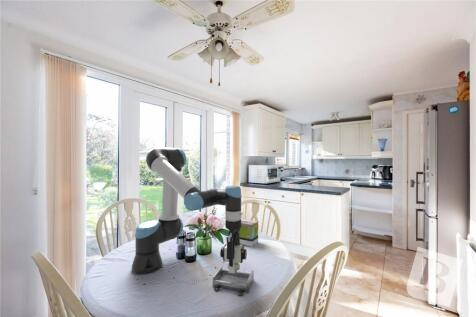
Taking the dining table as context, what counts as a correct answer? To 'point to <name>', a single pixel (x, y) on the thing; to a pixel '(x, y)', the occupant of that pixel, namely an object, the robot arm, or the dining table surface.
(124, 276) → the dining table surface
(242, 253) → the pneumatic valve
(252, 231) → the tea box
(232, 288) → the wheeled cart
